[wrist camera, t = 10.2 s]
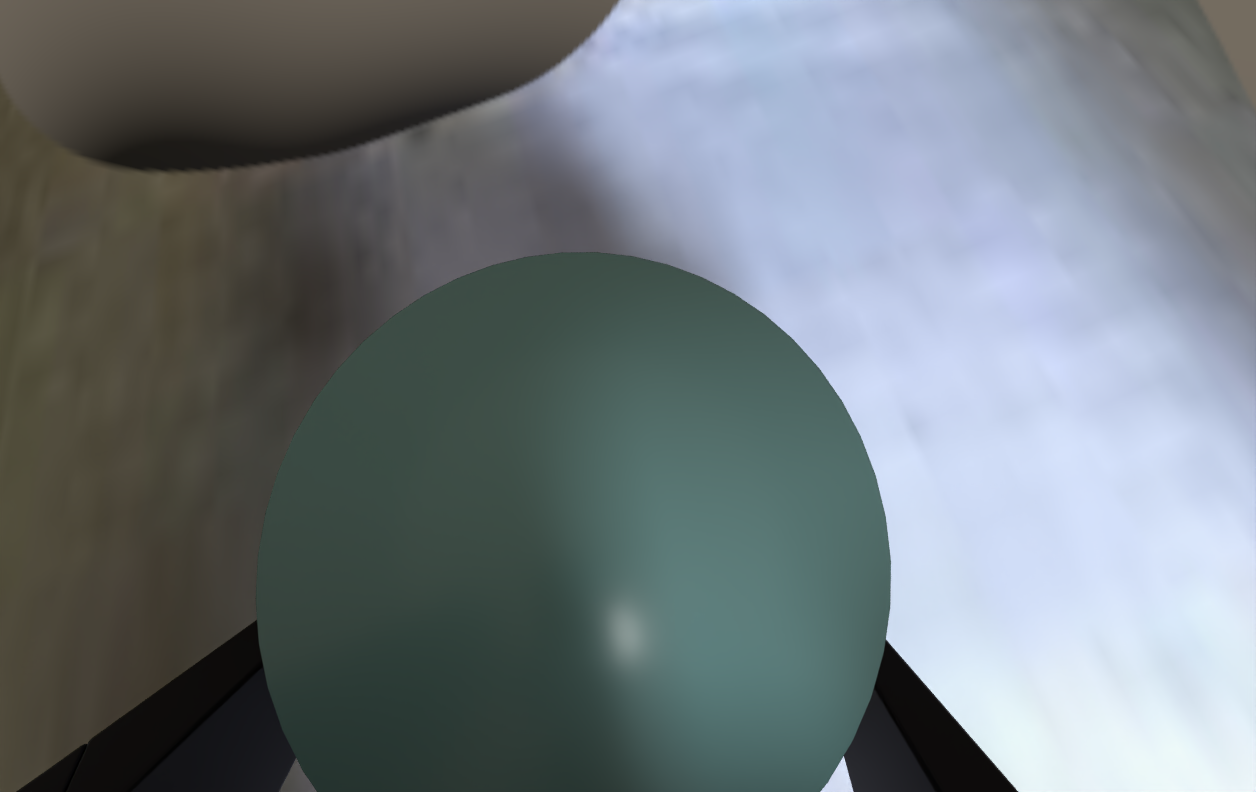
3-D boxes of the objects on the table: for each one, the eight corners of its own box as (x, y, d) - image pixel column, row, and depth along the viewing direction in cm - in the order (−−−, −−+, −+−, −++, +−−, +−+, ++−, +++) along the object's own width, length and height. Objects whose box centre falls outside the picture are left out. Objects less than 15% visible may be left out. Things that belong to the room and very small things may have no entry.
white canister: (717, 639, 16) (910, 963, 5) (500, 620, 17) (175, 883, 5) (723, 422, 18) (875, 267, 6) (526, 409, 18) (331, 238, 7)
